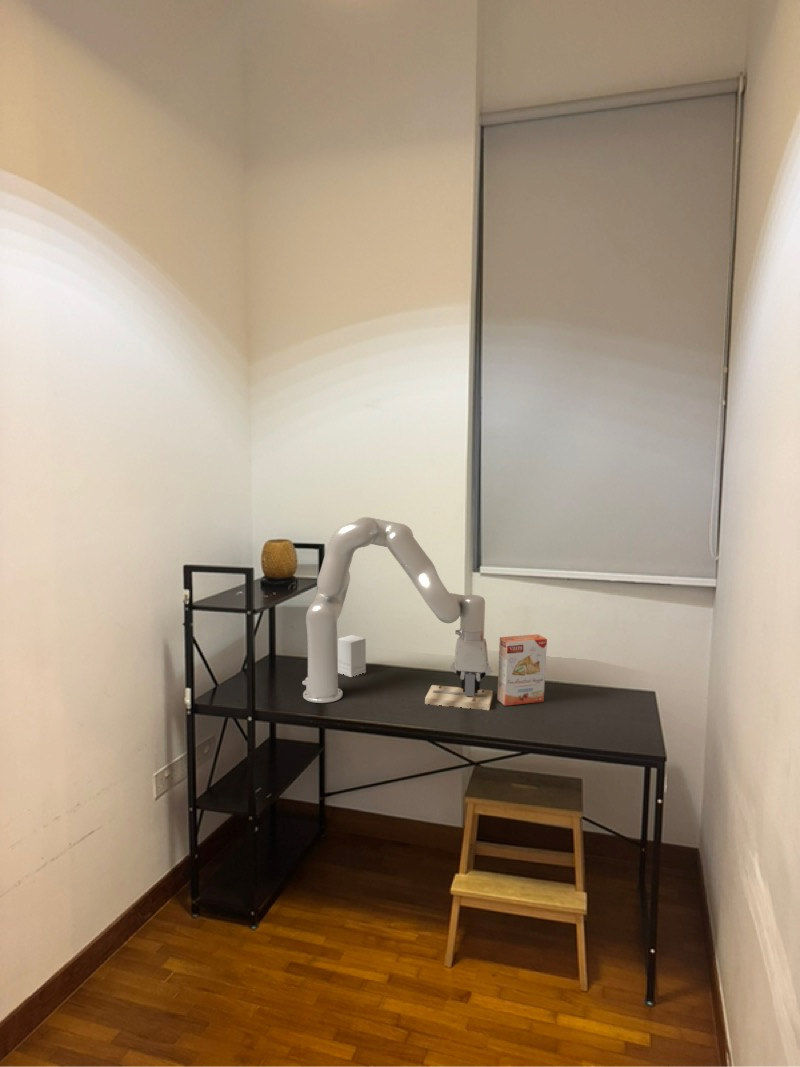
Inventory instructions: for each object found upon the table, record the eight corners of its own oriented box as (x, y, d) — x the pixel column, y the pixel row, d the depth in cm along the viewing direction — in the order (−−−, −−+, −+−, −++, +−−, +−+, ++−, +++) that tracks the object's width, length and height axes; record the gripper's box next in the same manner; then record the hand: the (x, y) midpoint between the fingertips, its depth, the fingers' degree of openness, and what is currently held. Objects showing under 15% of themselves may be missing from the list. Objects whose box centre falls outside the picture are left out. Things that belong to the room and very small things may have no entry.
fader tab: (464, 695, 216) (465, 673, 215) (466, 690, 220) (467, 668, 219) (474, 696, 215) (474, 674, 214) (475, 691, 220) (476, 669, 219)
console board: (424, 704, 215) (425, 697, 215) (431, 690, 227) (431, 684, 227) (489, 710, 211) (489, 703, 211) (492, 696, 223) (492, 689, 222)
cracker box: (505, 707, 214) (507, 641, 211) (496, 700, 219) (498, 636, 217) (545, 702, 218) (547, 638, 215) (535, 695, 224) (537, 633, 221)
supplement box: (366, 673, 244) (366, 638, 242) (350, 678, 239) (350, 642, 237) (352, 668, 249) (352, 634, 247) (336, 672, 244) (336, 638, 242)
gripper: (444, 636, 214) (442, 693, 216) (497, 640, 210) (495, 698, 212) (447, 629, 221) (446, 685, 223) (499, 633, 217) (497, 689, 220)
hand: (470, 690), depth 218 cm, fingers closed on fader tab, 3 cm apart
